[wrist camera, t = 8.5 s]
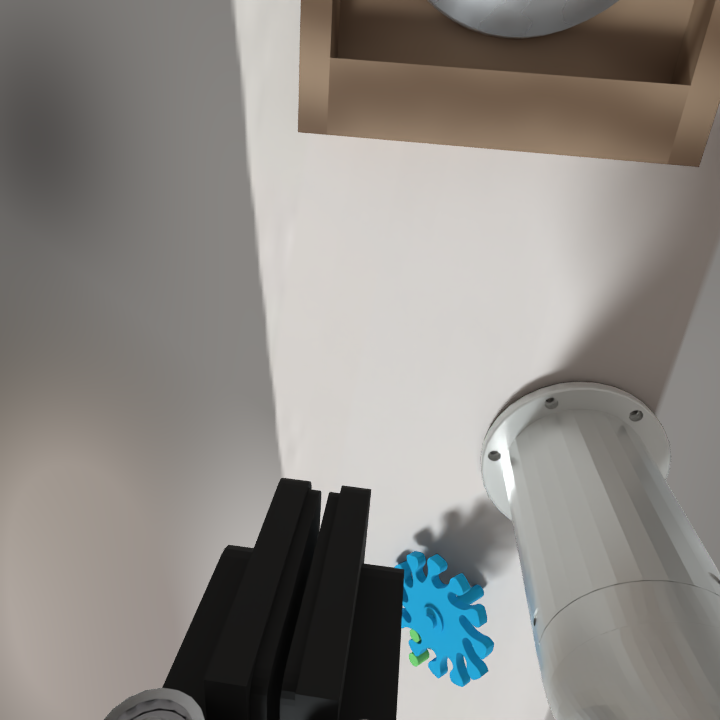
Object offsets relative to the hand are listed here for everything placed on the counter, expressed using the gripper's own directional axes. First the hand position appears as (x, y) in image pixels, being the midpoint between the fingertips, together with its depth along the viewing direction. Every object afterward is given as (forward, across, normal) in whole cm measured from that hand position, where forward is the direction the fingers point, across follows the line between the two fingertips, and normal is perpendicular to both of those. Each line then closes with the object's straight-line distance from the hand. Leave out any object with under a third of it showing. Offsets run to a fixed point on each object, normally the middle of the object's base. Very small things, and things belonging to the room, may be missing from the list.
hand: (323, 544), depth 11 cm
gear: (+27, -6, +29) cm, 41 cm away
